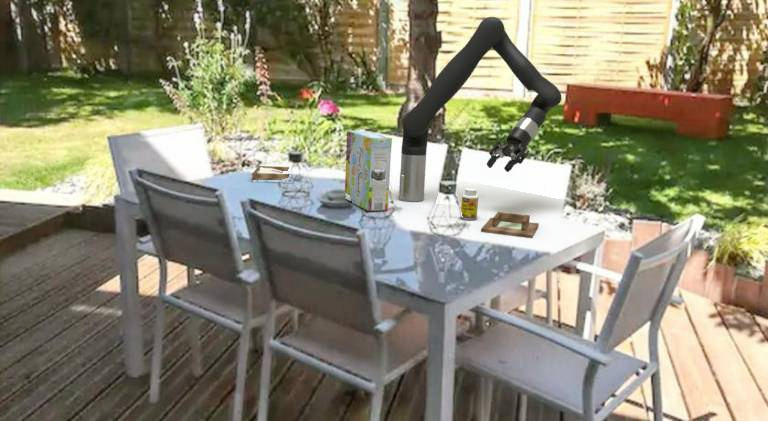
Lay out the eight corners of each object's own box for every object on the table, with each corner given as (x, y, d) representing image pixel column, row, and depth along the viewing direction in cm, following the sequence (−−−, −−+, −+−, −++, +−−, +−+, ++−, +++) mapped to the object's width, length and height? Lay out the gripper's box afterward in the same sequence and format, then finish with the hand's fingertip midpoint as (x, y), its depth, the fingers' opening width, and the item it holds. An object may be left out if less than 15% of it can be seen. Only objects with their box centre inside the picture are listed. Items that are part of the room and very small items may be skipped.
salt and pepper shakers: (254, 181, 289) (281, 183, 289) (254, 171, 288) (282, 173, 288) (260, 176, 301) (286, 177, 301) (260, 166, 300) (286, 168, 300)
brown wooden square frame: (480, 231, 226) (481, 219, 225) (490, 220, 241) (491, 209, 240) (531, 238, 221) (532, 225, 220) (538, 226, 236) (539, 214, 235)
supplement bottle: (458, 219, 240) (460, 189, 238) (462, 215, 245) (464, 186, 243) (475, 221, 239) (477, 191, 236) (478, 217, 244) (480, 188, 241)
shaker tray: (252, 181, 287) (252, 173, 286) (258, 173, 304) (258, 165, 303) (292, 183, 287) (293, 174, 287) (297, 175, 304) (297, 167, 303)
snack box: (390, 211, 248) (393, 137, 242) (367, 212, 244) (370, 138, 238) (364, 197, 267) (366, 129, 261) (343, 199, 263) (345, 129, 257)
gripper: (503, 123, 252) (477, 158, 248) (533, 128, 241) (507, 164, 237) (512, 138, 257) (487, 172, 253) (542, 143, 245) (517, 178, 241)
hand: (497, 168), depth 245 cm, fingers open, 8 cm apart
